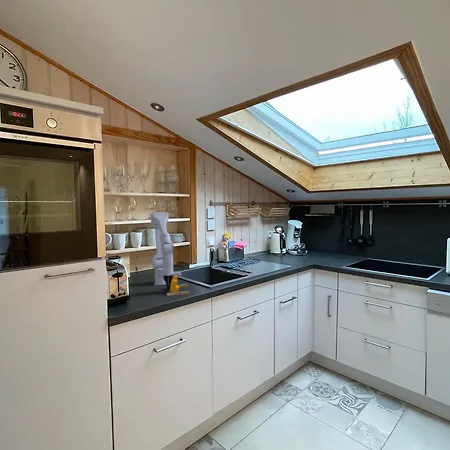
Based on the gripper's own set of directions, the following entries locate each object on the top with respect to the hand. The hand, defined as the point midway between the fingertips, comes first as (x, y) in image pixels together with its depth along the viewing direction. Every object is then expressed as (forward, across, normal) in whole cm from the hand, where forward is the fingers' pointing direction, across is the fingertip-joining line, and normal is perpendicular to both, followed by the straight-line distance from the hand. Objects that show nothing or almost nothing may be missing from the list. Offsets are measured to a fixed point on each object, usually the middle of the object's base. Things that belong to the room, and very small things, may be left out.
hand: (168, 288), depth 170 cm
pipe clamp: (+1, +3, +1) cm, 3 cm away
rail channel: (+1, +5, 0) cm, 5 cm away
